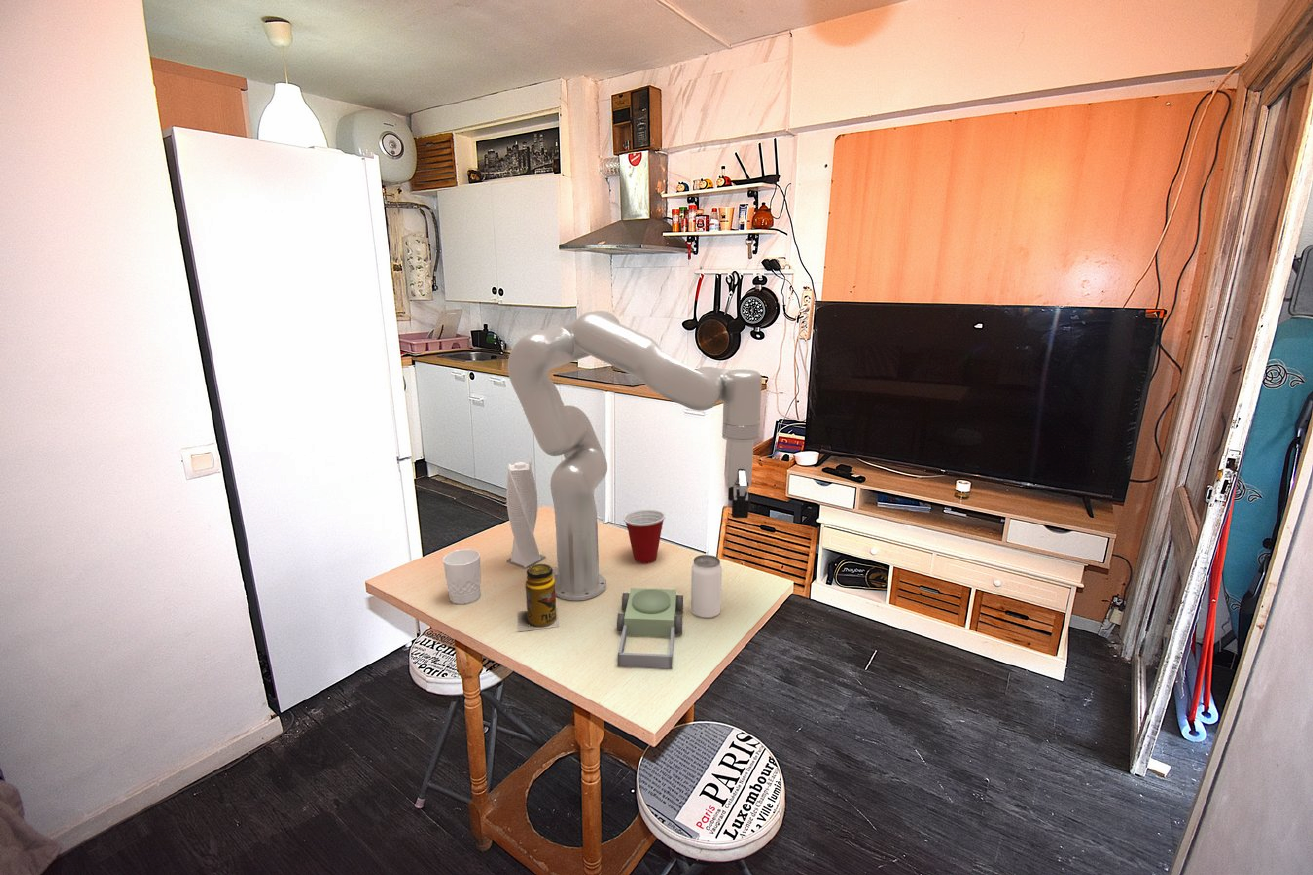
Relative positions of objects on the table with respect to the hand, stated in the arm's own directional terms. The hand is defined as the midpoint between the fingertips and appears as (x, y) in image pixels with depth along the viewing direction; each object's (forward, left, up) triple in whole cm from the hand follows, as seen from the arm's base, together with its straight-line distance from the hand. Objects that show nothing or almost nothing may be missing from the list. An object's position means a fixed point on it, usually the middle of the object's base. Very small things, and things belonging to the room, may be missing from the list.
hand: (737, 508), depth 122 cm
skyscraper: (-52, +17, -23) cm, 59 cm away
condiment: (-42, -9, -23) cm, 49 cm away
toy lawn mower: (-18, -12, -23) cm, 31 cm away
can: (-6, -3, -23) cm, 24 cm away
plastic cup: (-22, +21, -23) cm, 38 cm away
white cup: (-61, -1, -23) cm, 65 cm away
